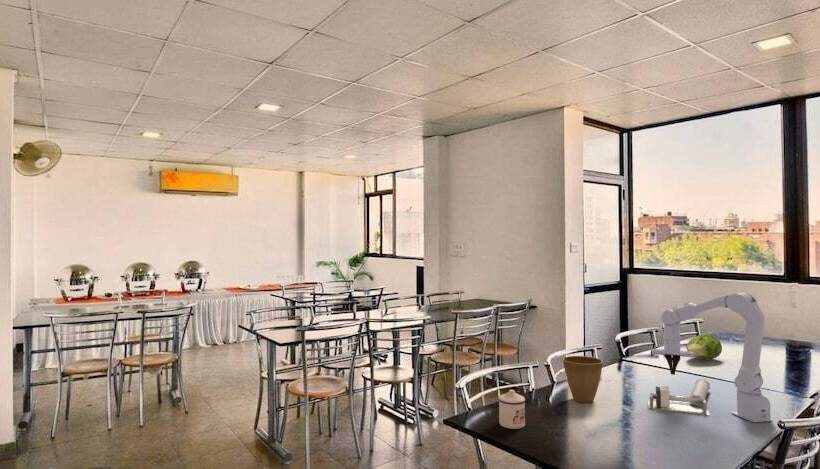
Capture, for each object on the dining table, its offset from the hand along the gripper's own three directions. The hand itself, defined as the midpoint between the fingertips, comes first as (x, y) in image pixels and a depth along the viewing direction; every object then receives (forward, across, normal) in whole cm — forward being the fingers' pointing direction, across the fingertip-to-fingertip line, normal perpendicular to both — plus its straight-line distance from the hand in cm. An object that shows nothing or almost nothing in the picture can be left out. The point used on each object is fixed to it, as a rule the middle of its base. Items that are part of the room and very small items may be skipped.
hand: (672, 373), depth 191 cm
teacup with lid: (+10, +53, +52) cm, 75 cm away
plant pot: (+10, +33, +16) cm, 38 cm away
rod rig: (+10, 0, +12) cm, 16 cm away
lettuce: (+10, -20, -78) cm, 81 cm away
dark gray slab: (+10, +6, +12) cm, 17 cm away
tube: (+10, -10, -5) cm, 15 cm away
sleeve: (+10, +4, +12) cm, 16 cm away
